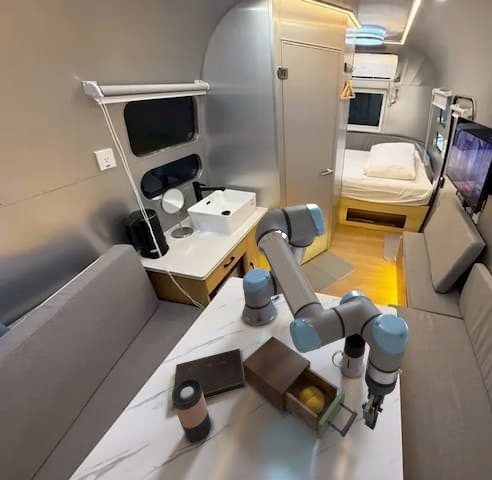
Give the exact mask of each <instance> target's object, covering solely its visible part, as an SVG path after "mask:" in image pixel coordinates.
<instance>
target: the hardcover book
mask: <svg viewBox="0 0 492 480" xmlns="http://www.w3.org/2000/svg"><path fill="white" fill-rule="evenodd" d="M175 365H176V366H175V374H174V384H173V385H174V386H173V390H174V389H176V388H177V387H178V386H179V385H180V384H181V382H183V381H185V380H188V379H194V380H197V381H198V382H199V383H200V385H201V389H202V392H203V395H204V398H205V400H206V399H209V398H213V397H215V396H219V395H222V394H225V393H229V392H232V391H235V390H238V389H242V388H245V387H246V386H245V376H244V370H243V364H242V356H241V349H240V348H235V349H232V350H228V351H223V352H219V353H216V354H212V355H208V356H204V357H200V358H196V359H193V360H189V361H185V362H181V363H177V364H175ZM172 408H173V409H175V407H174V404H173V403H172Z"/></svg>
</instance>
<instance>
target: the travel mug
mask: <svg viewBox="0 0 492 480" xmlns="http://www.w3.org/2000/svg"><path fill="white" fill-rule="evenodd" d="M171 401H172V405H173V404H174V407H175V408H174V409H175V412H176V415H177V418H178V420H179V423H180V425H181V428H182V430H183V432H184V434H185V436H186V438H187V440H188V441H189V442H191V443H199V442H202V441H203V440H204V439H206V438H207V437H208V436H209V434H210V432H211V429H212V423H211V418H210V417H211V416H210V413H209V409H208V405H207V402H206V399H205V398H204V395H203V392H202V389H201V385H200V383H199V382H198V381H197V380H194V379H188V380H185V381H183V382H181V384H180V385H179V386H178V387H177V388H176V389H174V388H173V390H172V393H171Z"/></svg>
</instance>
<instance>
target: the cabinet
mask: <svg viewBox="0 0 492 480" xmlns="http://www.w3.org/2000/svg"><path fill="white" fill-rule="evenodd" d="M311 362H312V361H310V360H309V359H308V358H306V357H304V356H303V355H301V354H300V353H299V352H297V351H296V350H294V349H293V348H291V347H290V346H288V345H287V344H285V343H284V342H282V341H281V340H280V339H278V338H277V337H275V336H274V335H272V336H270V337H269V338H268V339H267V340H266V341H265V342H264V343H262V344H261V345H260V346H259V347H258V348H257V349H256V350H255V351H254V352H252V353H251V354H250V355H249V356H247V358H245V359H244V360H243V361H241V363H242V370H243V377H244V382H246V383H247V384H248V385H250V386H251V387H252V388H253V389H254V390H255V391H257V392H258V393H259V394H260V395H261V396H263V397H264V398H265V399H266V400H267V401H268V402H270V404H272V405H273V406H274V407H276V408H277V409H278V410H279V411H280V412H282V413H284V412H285V411H286V410H287V408H286V407H285V406H284V393H285V392H286V391H287V390H288V389H289V387H290V386H291V385H292V384H293V383H294V382H295V381H296V379H297V378H298V377H299V376H300V375H301V374H302V373H303V371H304V370H305V369H306V368H307V367H309V368H311V366H312V365H311Z"/></svg>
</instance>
